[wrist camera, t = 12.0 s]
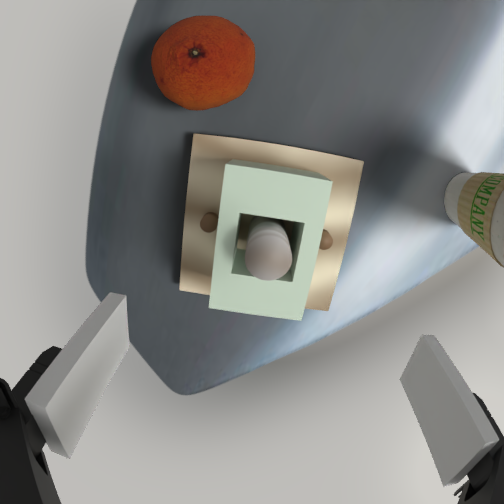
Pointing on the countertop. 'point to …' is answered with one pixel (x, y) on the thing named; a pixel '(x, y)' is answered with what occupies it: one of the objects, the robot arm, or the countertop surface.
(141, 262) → the countertop surface
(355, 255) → the countertop surface
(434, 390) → the robot arm
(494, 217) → the coffee cup
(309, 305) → the post base
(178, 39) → the fruit
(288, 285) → the green block with window
